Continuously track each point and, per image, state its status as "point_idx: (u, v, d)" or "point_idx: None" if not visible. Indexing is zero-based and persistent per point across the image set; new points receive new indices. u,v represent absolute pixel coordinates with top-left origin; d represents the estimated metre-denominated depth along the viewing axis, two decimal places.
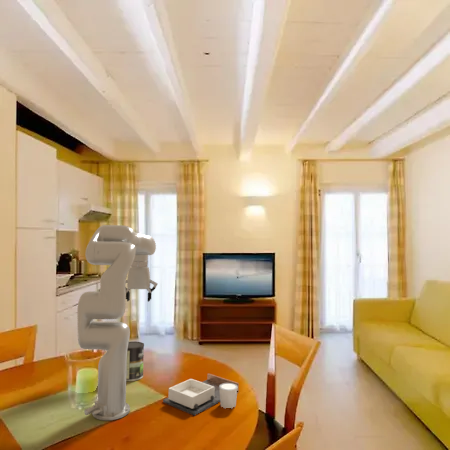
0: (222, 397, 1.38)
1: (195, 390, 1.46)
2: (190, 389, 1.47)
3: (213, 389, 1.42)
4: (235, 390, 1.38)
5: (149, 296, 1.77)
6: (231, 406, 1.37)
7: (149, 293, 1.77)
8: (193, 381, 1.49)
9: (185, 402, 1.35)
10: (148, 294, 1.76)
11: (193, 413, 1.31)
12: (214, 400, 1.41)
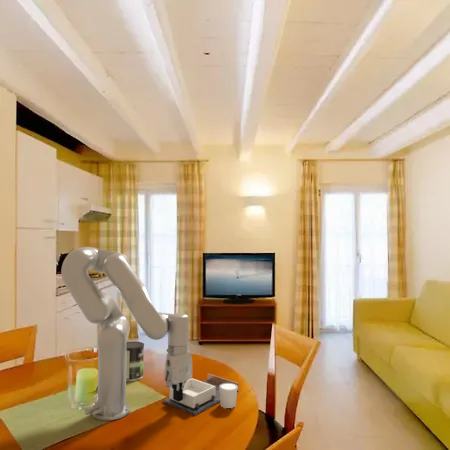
0: (222, 397, 1.38)
1: (195, 390, 1.46)
2: (191, 389, 1.47)
3: (214, 389, 1.43)
4: (235, 390, 1.38)
5: None
6: (231, 406, 1.37)
7: None
8: (194, 381, 1.49)
9: (186, 402, 1.36)
10: (182, 391, 1.35)
11: (193, 413, 1.31)
12: (214, 400, 1.41)
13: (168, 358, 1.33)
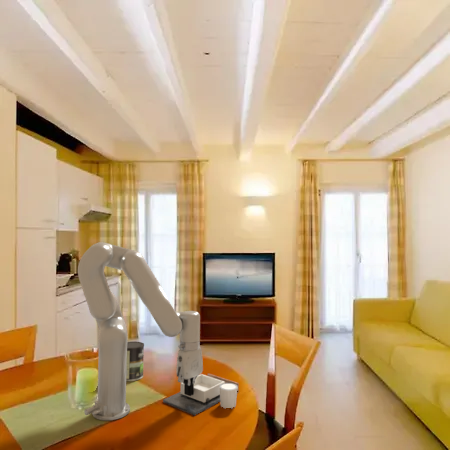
0: (222, 397, 1.38)
1: (205, 385, 1.51)
2: (201, 384, 1.52)
3: None
4: (235, 390, 1.38)
5: None
6: (231, 406, 1.37)
7: None
8: (204, 376, 1.54)
9: (197, 396, 1.40)
10: (193, 386, 1.40)
11: (193, 413, 1.31)
12: (214, 400, 1.41)
13: (180, 354, 1.37)
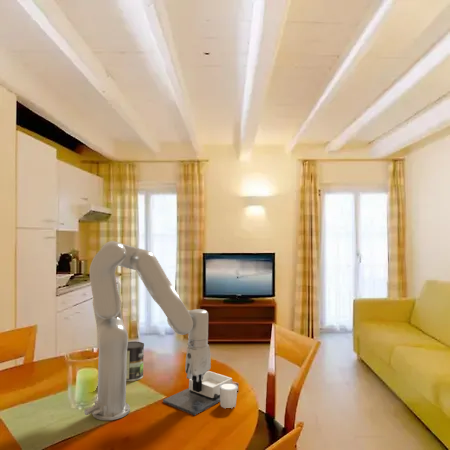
0: (222, 397, 1.38)
1: (213, 382, 1.55)
2: (209, 381, 1.55)
3: (231, 380, 1.51)
4: (235, 390, 1.38)
5: None
6: (231, 406, 1.37)
7: None
8: (211, 373, 1.57)
9: (205, 392, 1.44)
10: (201, 382, 1.43)
11: (193, 413, 1.31)
12: (214, 400, 1.41)
13: (189, 351, 1.41)
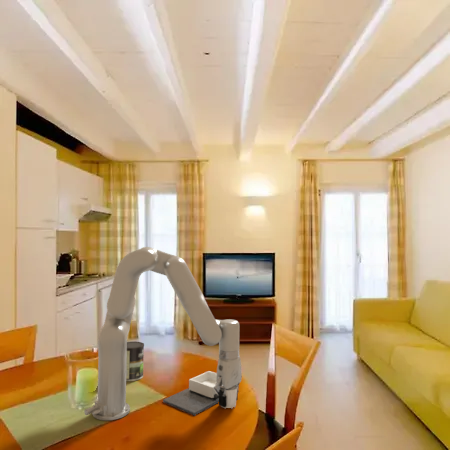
0: None
1: (213, 382, 1.55)
2: (209, 381, 1.55)
3: None
4: (235, 390, 1.38)
5: None
6: (231, 406, 1.37)
7: None
8: (211, 373, 1.57)
9: (205, 392, 1.44)
10: (237, 391, 1.41)
11: (193, 413, 1.31)
12: (214, 400, 1.41)
13: (220, 363, 1.37)
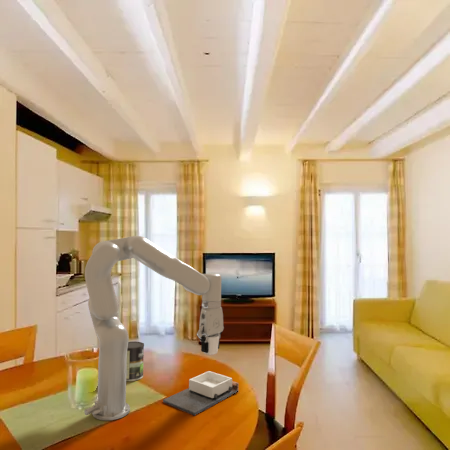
0: None
1: (213, 382, 1.55)
2: (209, 381, 1.55)
3: (231, 380, 1.51)
4: (217, 337, 1.48)
5: None
6: (213, 352, 1.47)
7: None
8: (211, 373, 1.57)
9: (205, 392, 1.44)
10: None
11: (193, 413, 1.31)
12: (214, 400, 1.41)
13: (203, 312, 1.47)
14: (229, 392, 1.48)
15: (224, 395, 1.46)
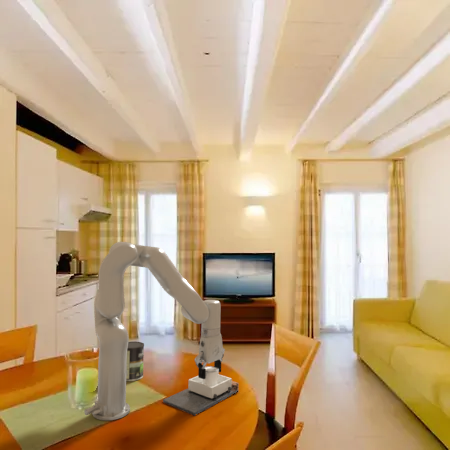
0: (204, 379, 1.48)
1: None
2: None
3: (230, 381, 1.51)
4: (216, 372, 1.48)
5: None
6: None
7: None
8: None
9: (205, 393, 1.44)
10: (220, 364, 1.53)
11: (193, 413, 1.31)
12: (214, 400, 1.41)
13: (202, 339, 1.47)
14: (229, 392, 1.48)
15: (224, 395, 1.46)
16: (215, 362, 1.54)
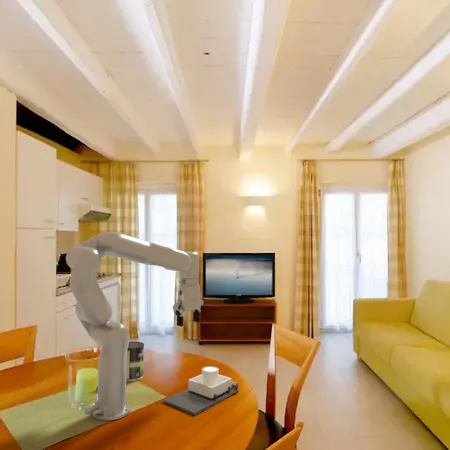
0: (204, 379, 1.48)
1: None
2: None
3: (230, 381, 1.51)
4: (216, 372, 1.48)
5: None
6: None
7: (198, 313, 1.58)
8: None
9: (205, 393, 1.44)
10: (199, 314, 1.57)
11: (193, 413, 1.31)
12: (214, 400, 1.41)
13: (180, 289, 1.51)
14: (229, 392, 1.48)
15: (224, 395, 1.46)
16: (194, 313, 1.59)
